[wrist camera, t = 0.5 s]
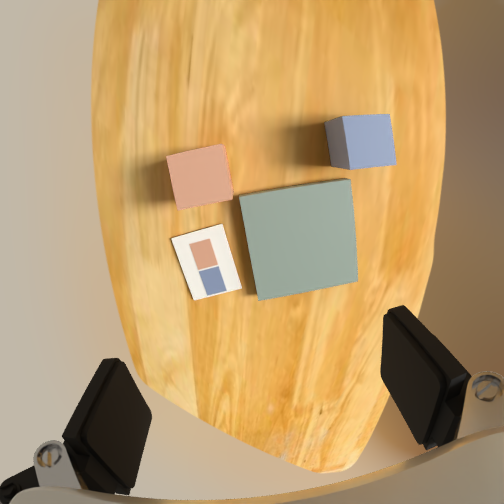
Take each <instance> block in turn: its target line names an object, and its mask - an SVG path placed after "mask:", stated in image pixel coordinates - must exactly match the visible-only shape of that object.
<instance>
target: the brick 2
mask: <svg viewBox="0 0 504 504" xmlns="http://www.w3.org/2000/svg"><path fill="white" fill-rule="evenodd" d="M324 124H325V129H326V135H327V142H328V148H329V155H330V161H331V167H337V168H343V169H349V170H353V169H361V168H370V167H380V166H389V165H396V156H395V148H394V140H393V133H392V126H391V120H390V114H376V115H355V116H342V117H339V118H335V119H332V120H329V121H327V122H324Z"/></svg>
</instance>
